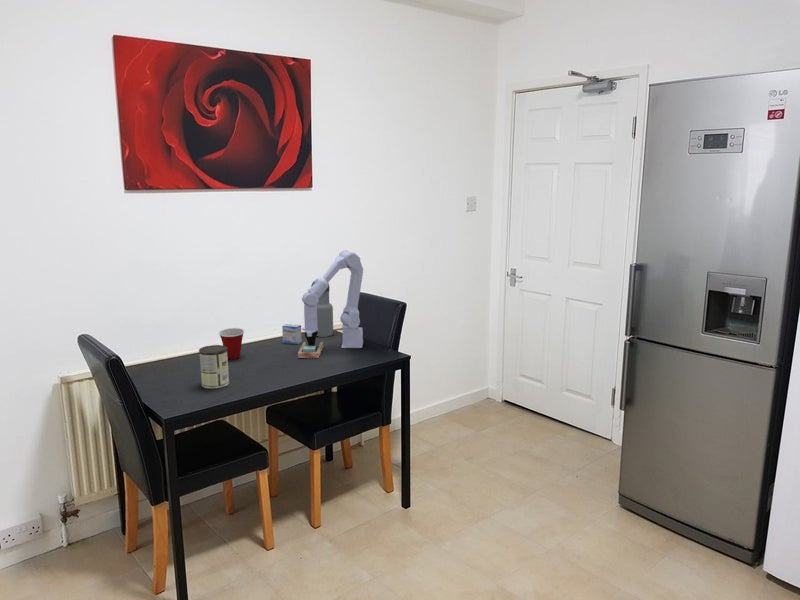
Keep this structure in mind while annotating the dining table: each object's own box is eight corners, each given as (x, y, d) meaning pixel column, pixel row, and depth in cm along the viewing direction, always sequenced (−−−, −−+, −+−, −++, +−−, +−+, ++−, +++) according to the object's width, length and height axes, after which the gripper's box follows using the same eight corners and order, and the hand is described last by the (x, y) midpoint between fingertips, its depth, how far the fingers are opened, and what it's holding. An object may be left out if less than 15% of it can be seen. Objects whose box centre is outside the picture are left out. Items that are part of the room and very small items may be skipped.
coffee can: (205, 379, 243) (203, 344, 240) (232, 379, 243) (230, 344, 241) (197, 388, 233) (195, 352, 230) (225, 388, 233) (223, 352, 231)
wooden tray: (323, 347, 289) (323, 342, 288) (318, 358, 271) (318, 353, 271) (303, 347, 289) (303, 342, 288) (297, 358, 271) (297, 353, 270)
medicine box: (282, 343, 295) (281, 325, 294) (286, 341, 300) (286, 323, 298) (297, 344, 293) (297, 326, 291) (301, 342, 297) (301, 324, 296)
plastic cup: (217, 361, 267) (215, 334, 265) (223, 354, 278) (221, 328, 275) (242, 361, 267) (241, 334, 265) (248, 354, 278) (246, 327, 276)
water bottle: (312, 337, 306) (310, 281, 301) (313, 332, 316) (311, 277, 310) (333, 337, 307) (331, 280, 301) (333, 332, 316) (332, 277, 311)
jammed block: (316, 353, 278) (315, 345, 277) (314, 356, 273) (314, 348, 272) (304, 353, 278) (304, 345, 277) (303, 356, 273) (303, 349, 272)
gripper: (303, 315, 287) (304, 343, 289) (299, 322, 272) (300, 352, 275) (319, 315, 287) (320, 343, 290) (315, 322, 273) (316, 352, 275)
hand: (311, 348), depth 282 cm, fingers closed
